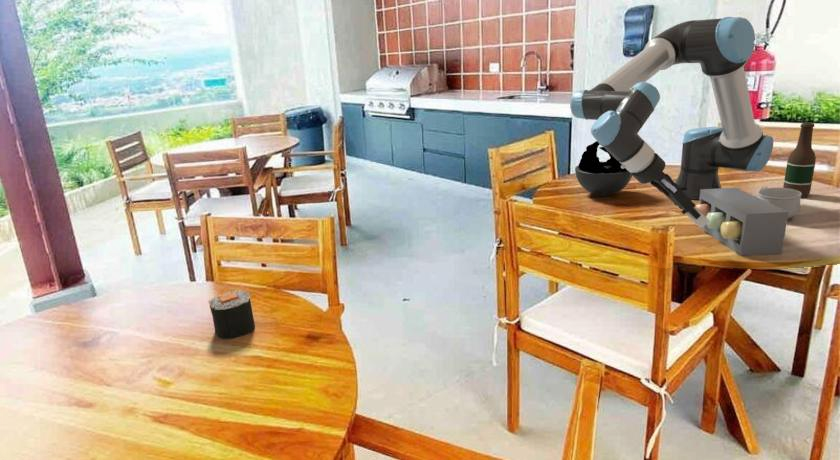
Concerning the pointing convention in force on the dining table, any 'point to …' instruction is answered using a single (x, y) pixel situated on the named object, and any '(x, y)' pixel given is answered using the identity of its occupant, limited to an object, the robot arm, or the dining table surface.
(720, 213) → the sage button
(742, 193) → the console
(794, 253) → the dining table surface
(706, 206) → the terracotta button
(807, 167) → the beer bottle
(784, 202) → the teacup
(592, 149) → the bowl of black rocks
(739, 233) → the ochre button
